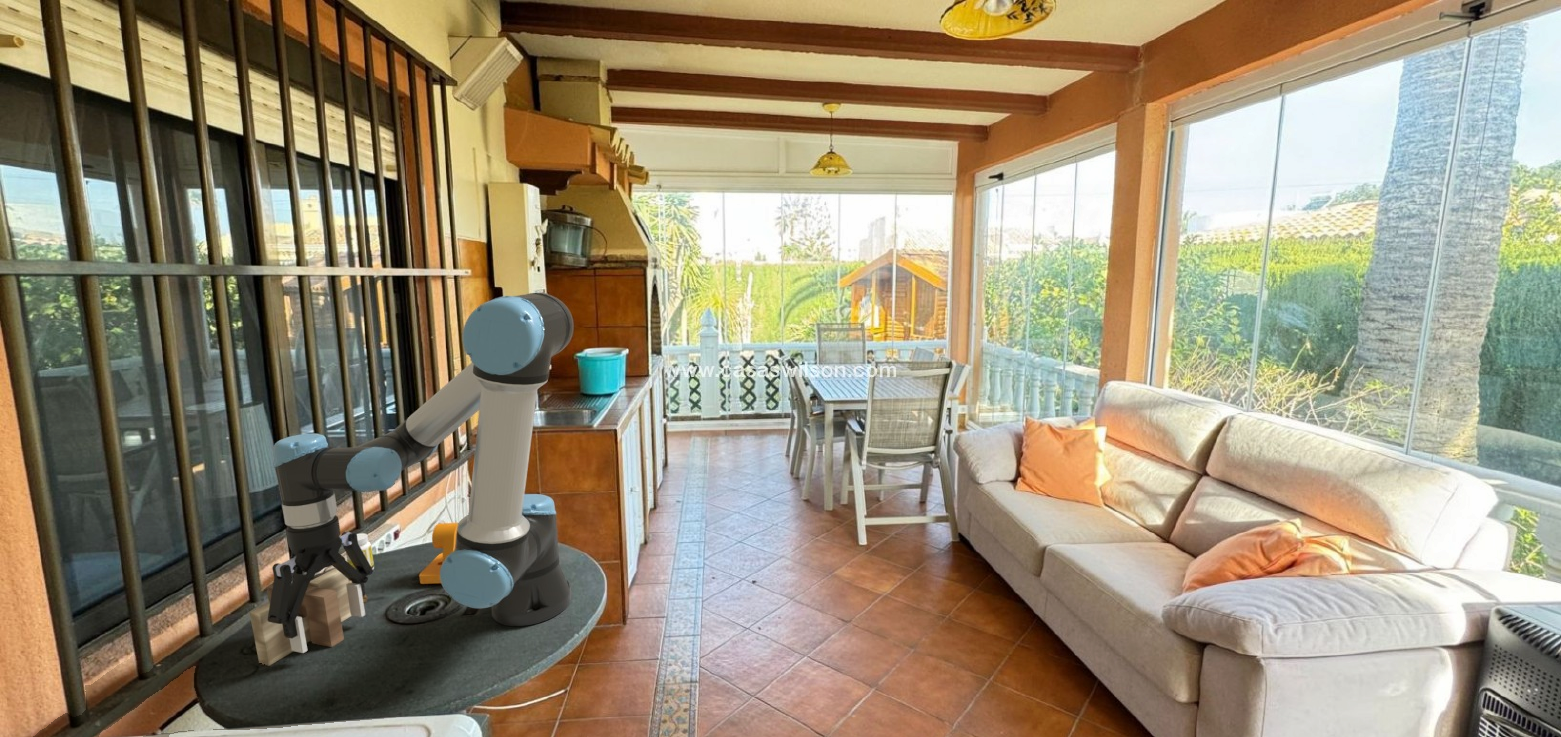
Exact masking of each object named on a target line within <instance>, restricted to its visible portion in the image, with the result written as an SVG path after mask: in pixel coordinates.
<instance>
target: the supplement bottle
mask: <svg viewBox="0 0 1561 737" xmlns="http://www.w3.org/2000/svg"><path fill="white" fill-rule="evenodd" d="M356 534H357V540H358V544H359V546H360V548H361V550H362V552H363V553H364V555H365V557H366V559H367V560H368V562H369V564H370V566H371V568H372V569H373V570H374V569H375V562H374V557H373V555H374V554H373V549H372V544H371V542H370V541H369V538H368V536H369V535H368V534H367V533H356ZM345 554H346V561H347V562H348V563H349V564H350V565H352V566H353V567H354V565H353V563H352V561H351V560H350V558H349V556H348V555H347V553H346V552H345ZM354 568H355V567H354ZM355 569H356V568H355Z"/></svg>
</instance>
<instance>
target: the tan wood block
mask: <svg viewBox="0 0 1561 737" xmlns="http://www.w3.org/2000/svg"><path fill="white" fill-rule="evenodd" d="M291 584H292V582H291ZM265 589H266V593H267V598H268V602H270V601H271V595H272V589H273V584H270V585H268V586H267V587H266V588H265ZM298 615H303V616H307V617H308V623H309V629H310V635H311V641H310V642H311V644H313V645H314V644H315V645H319V646H324V647H328V648H333V647H335V646H336V645H338V644H339V643H341V642H342V641H344V640H345V636H344V630H343V624H342V622H341V617H340V610H339V604H338V598H337V591H336V590H330V589H324V588H318V587H312V586H309V585H308V588H307V591H306V593H305V596H304V599H303V601H302V604H301V607H300V609H299V612H298Z"/></svg>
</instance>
